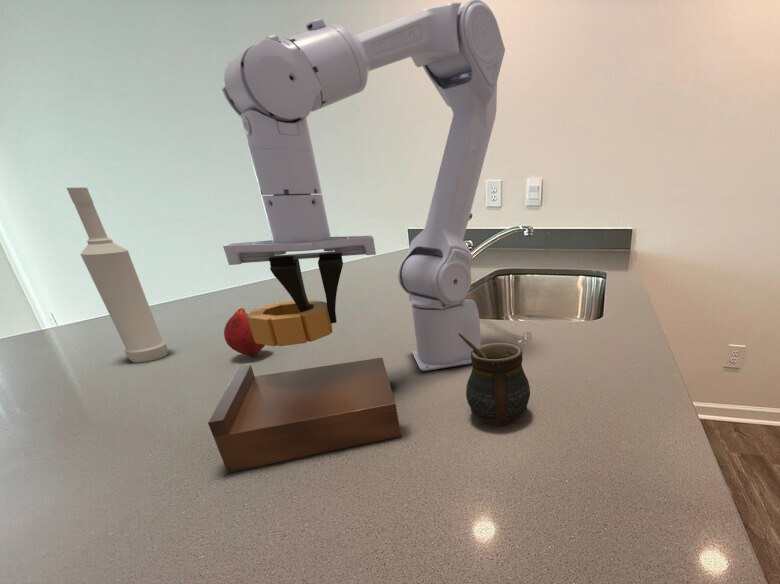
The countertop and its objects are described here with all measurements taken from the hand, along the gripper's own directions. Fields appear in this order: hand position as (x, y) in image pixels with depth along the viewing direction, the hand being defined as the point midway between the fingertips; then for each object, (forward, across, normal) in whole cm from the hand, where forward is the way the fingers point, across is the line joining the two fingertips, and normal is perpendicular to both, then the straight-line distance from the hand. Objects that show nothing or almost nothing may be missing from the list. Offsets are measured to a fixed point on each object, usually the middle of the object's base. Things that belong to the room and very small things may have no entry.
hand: (321, 322), depth 48 cm
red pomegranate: (+10, -13, +21) cm, 27 cm away
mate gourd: (+10, +17, -13) cm, 24 cm away
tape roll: (+1, -3, 0) cm, 3 cm away
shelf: (+10, -2, -6) cm, 12 cm away
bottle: (+10, -29, +29) cm, 42 cm away
